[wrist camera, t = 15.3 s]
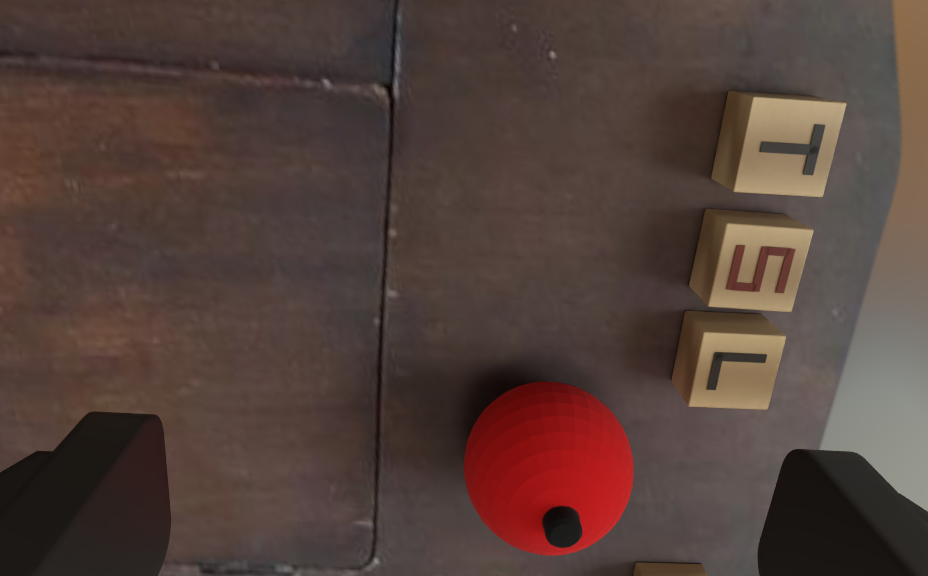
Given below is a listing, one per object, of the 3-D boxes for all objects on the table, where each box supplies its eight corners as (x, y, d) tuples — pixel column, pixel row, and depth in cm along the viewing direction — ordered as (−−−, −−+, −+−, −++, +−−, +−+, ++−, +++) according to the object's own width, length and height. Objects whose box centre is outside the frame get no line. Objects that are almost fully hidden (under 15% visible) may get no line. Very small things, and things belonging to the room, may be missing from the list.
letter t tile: (727, 90, 35) (754, 96, 32) (814, 96, 35) (848, 102, 32) (710, 179, 36) (733, 192, 33) (793, 183, 37) (823, 197, 34)
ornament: (603, 340, 40) (654, 439, 30) (617, 470, 43) (667, 595, 33) (449, 367, 40) (451, 473, 30) (474, 493, 43) (484, 624, 34)
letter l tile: (684, 309, 39) (704, 332, 36) (762, 313, 39) (787, 336, 36) (670, 380, 41) (688, 407, 38) (745, 383, 41) (768, 411, 38)
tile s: (705, 208, 37) (727, 223, 34) (786, 214, 37) (815, 229, 34) (688, 286, 39) (708, 307, 36) (766, 291, 39) (792, 313, 36)
